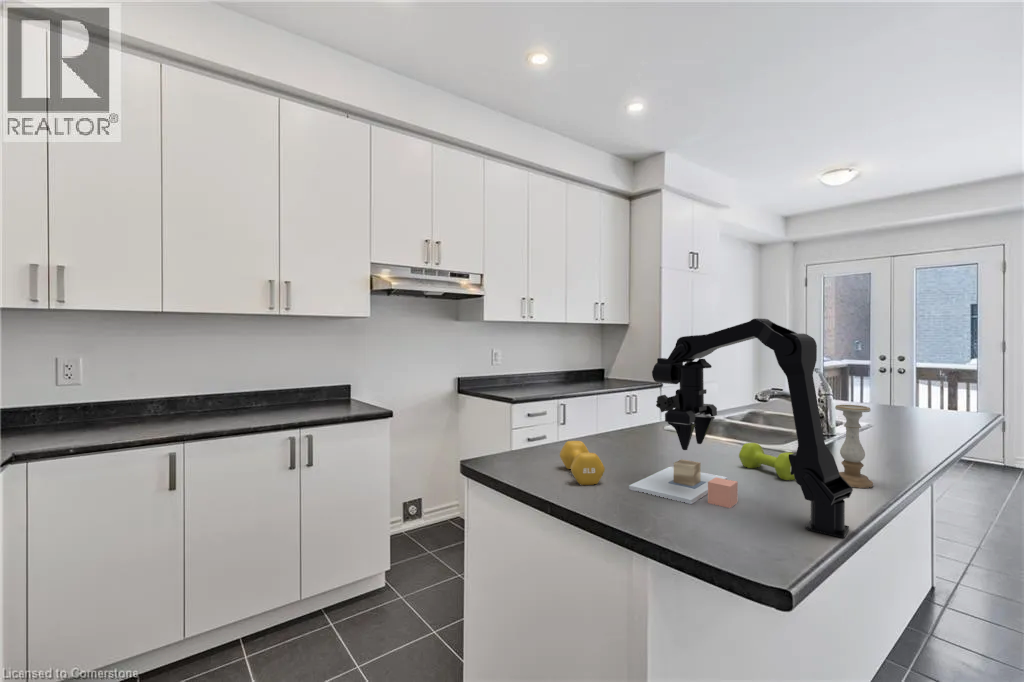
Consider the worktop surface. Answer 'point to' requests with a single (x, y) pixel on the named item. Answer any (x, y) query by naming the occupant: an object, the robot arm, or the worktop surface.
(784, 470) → the dumbbell
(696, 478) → the maple block
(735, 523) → the worktop surface
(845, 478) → the candle holder
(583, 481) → the dumbbell
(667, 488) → the blueprint board
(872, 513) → the worktop surface
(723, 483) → the coral block
